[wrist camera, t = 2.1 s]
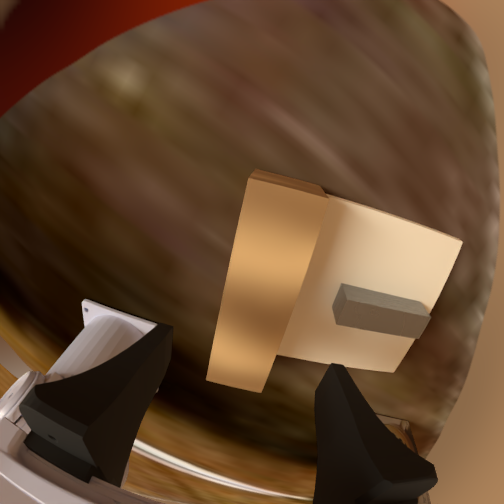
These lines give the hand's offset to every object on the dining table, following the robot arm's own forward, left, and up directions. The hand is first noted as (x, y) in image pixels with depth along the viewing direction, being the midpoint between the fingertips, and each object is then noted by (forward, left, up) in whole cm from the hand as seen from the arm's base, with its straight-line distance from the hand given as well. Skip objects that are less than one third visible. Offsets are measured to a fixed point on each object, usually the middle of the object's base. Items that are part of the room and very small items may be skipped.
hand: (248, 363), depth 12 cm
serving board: (0, -6, -9) cm, 11 cm away
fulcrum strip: (0, -9, -9) cm, 13 cm away
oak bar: (0, 0, -8) cm, 8 cm away
